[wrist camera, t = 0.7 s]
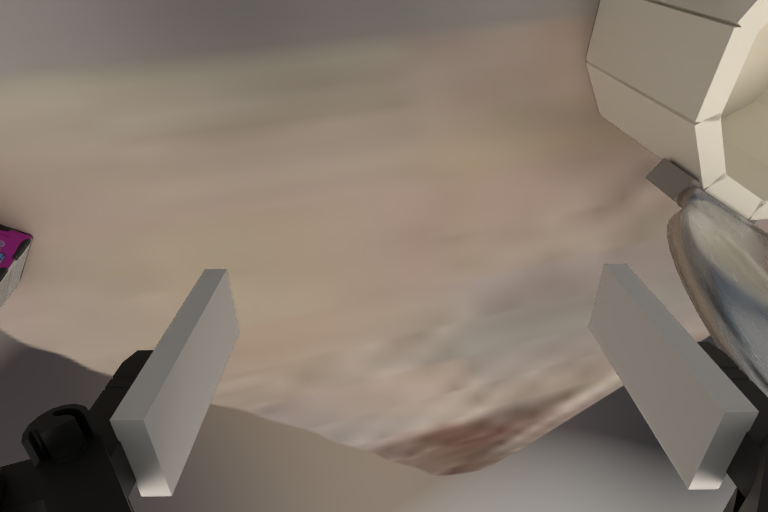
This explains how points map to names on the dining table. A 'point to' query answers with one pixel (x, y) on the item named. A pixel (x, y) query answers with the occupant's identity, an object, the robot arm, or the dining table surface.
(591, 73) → the stockpot
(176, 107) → the dining table surface
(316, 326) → the dining table surface
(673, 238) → the lid
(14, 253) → the candy bar box
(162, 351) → the robot arm
